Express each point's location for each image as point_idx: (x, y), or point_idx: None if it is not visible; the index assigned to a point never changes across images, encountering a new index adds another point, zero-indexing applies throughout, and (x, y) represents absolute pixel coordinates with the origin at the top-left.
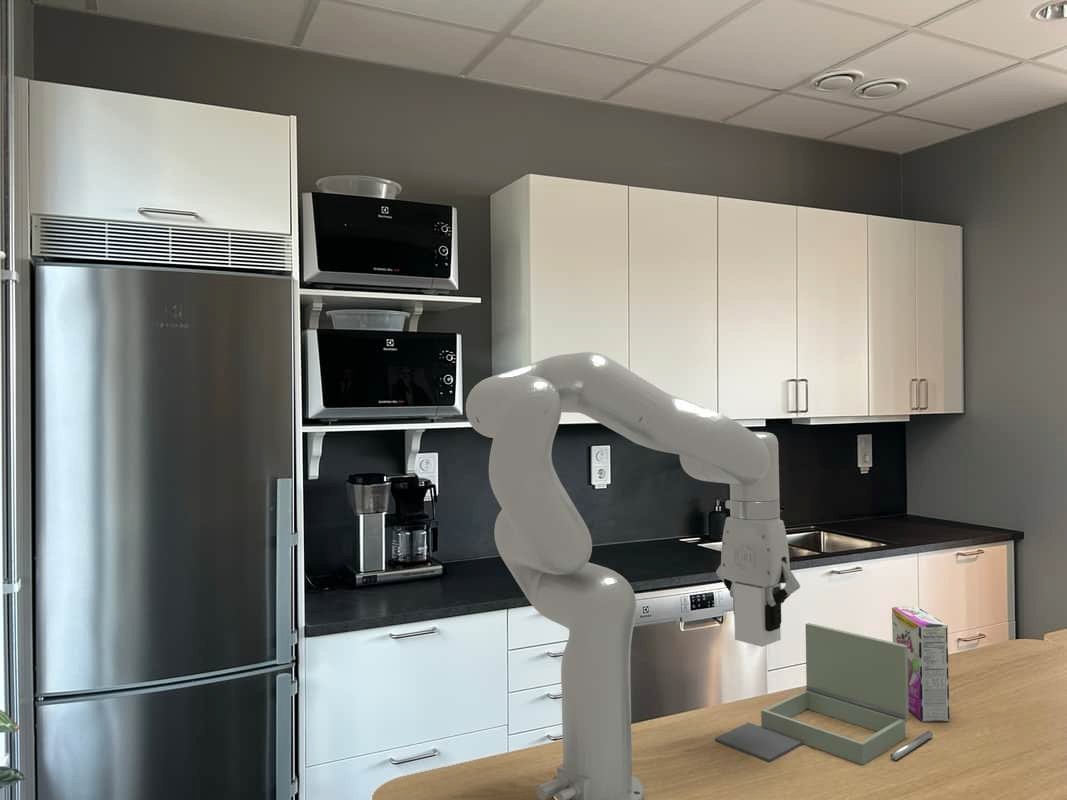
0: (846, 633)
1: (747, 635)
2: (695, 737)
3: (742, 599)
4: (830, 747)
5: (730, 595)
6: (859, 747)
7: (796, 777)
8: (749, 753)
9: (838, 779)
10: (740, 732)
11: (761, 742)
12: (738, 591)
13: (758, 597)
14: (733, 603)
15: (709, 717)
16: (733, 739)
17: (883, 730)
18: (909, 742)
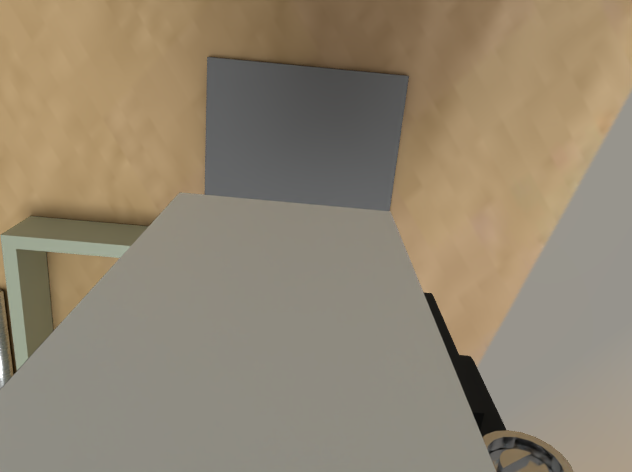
0: None
1: (286, 216)
2: (468, 54)
3: (327, 364)
4: (118, 229)
5: (551, 450)
6: (16, 231)
7: (102, 20)
8: (278, 63)
9: (21, 93)
10: (367, 166)
11: (285, 146)
12: (396, 430)
13: (49, 385)
14: (498, 414)
15: (502, 213)
16: (358, 106)
17: (21, 355)
18: (5, 381)
